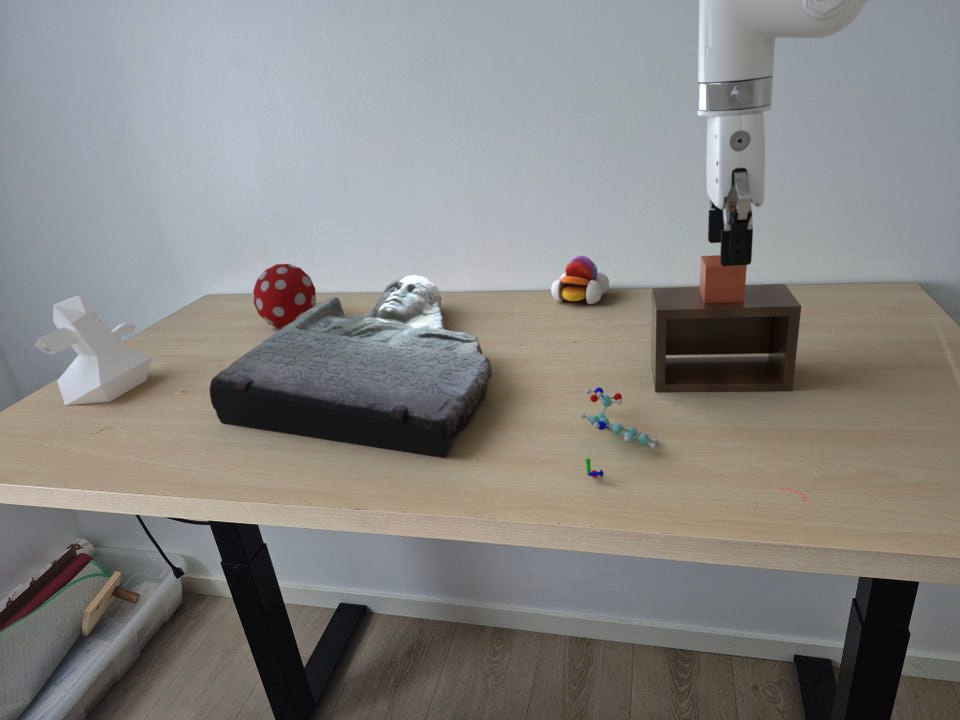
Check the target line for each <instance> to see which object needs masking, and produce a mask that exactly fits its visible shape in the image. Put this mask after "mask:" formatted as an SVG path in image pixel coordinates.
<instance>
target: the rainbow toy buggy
mask: <svg viewBox="0 0 960 720" xmlns="http://www.w3.org/2000/svg"><path fill="white" fill-rule="evenodd" d="M609 288H610V279H609V278H608V275H606V274H605V273H603V272H601V271H600V272H598V266H597V265H596V263H595V262H594V261H592V260H591V259H590V258H589V257H587V256H585V255H578V256H576V257H573V258H572V259H571V260H570V261H569V263H568V264H567V265H566V267H565V270H564V273H562V274H561V276H560V277H559V278H557V279H556V280H554V281H553V283H552V284H551V288H550V293H551V296H552V297H553V299H555V301H557V302H561V303H562V302H563V301H564V300H565V301H569V302H577V301H582V300H584V299H586V303H587V304H588V305H593V304H596V303H598V302H599V301H600V300H601V298H602V296H603V295H605V294H606V293H607V292H608V290H609Z"/></svg>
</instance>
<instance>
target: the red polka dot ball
mask: <svg viewBox="0 0 960 720" xmlns="http://www.w3.org/2000/svg"><path fill="white" fill-rule="evenodd" d="M316 291H317V290H316V287H315V284H314V283H313V281H312V278H311V277H310V276H309V274H308V273H306V272H305V271H304V270H303V269H302V268H301V267H299V266H296V265H293V264H290V263H278V264H274V265H272V266H271V267H269V268H266V269H265V270H263V272H262V273H261V274H260V276H258V278H257V279H256V281H255V284H254V287H253V291H252V296H253V305H254V307H255V309H256V312H257V313H258V315H259V317H260V318H262V319H263V320H264V321H265V322H266V323H267V324H268V325H270V326H273V327H275V328H278V329H279V330H281V329H282V328H284V327H285V326H286V325H288V324H289V323H291V322H293V321H294V320H295V319H296V318H298V317H299V316H300V315H302V314H303V313H305V312H306V311H307V310H309V309H311V308H313V307H314V306H315V305H316V302H317V293H316Z"/></svg>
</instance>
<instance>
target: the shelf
mask: <svg viewBox="0 0 960 720" xmlns="http://www.w3.org/2000/svg"><path fill="white" fill-rule="evenodd" d="M699 290H700V286H678V287H677V286H676V287H652V288H651V315H650V316H651V317H650V318H651V319H650V321H651V323H650V324H651V325H650V327H651V328H650V330H651V331H650V368H652V369H651V374H652V381H653V387H654V392H655V393H683V392H684V393H687V392H688V393H691V392H692V393H693V392H700V393H701V392H702V393H703V392H705V393H706V392H707V393H709V392H793V390H794V381H795V380H794V379H795V370H796V362H797V361H796V360H797V352H798V344H799V343H798V342H799V331H800V323H801V315H802V305H801V304H800V302H799V301H798V299H797V298H796V297H795V295H794V294H793V293H792V291H791V290H790V289H789V287H788V286H787V285H786V283H773V284H772V283H769V284H745V297H744V302H732V303H704V301H703V299H702V296H701V293H700V291H699ZM762 354H763V356H762ZM766 354H768V355H766ZM702 355H703V356H704V357H703V356H702ZM705 355H706V356H705ZM708 355H709V356H708ZM710 355H711V356H710ZM712 355H761V356H712ZM764 355H765V356H764ZM667 356H695V357H667ZM696 356H697V357H696ZM701 356H702V357H701Z"/></svg>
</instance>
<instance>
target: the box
mask: <svg viewBox="0 0 960 720" xmlns="http://www.w3.org/2000/svg"><path fill="white" fill-rule="evenodd" d="M747 266H748V265H738V266H722V265H721V263H720V254H719V255H714V254H713V255H700V266H699V267H700V268H699V287H700V290H699V291H700V293H701V296H702V299H703V301H704V303H732V302H744V297H745V285H746V281H747V268H748V267H747Z"/></svg>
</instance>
